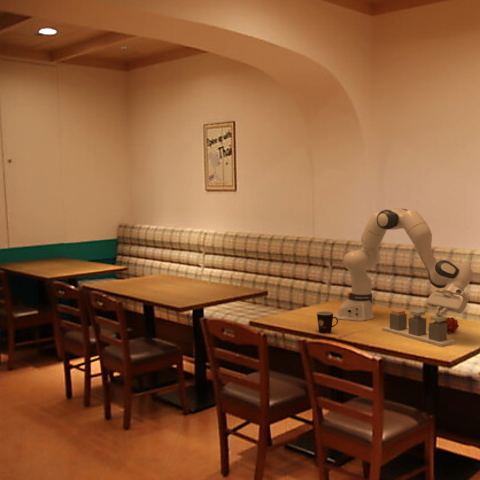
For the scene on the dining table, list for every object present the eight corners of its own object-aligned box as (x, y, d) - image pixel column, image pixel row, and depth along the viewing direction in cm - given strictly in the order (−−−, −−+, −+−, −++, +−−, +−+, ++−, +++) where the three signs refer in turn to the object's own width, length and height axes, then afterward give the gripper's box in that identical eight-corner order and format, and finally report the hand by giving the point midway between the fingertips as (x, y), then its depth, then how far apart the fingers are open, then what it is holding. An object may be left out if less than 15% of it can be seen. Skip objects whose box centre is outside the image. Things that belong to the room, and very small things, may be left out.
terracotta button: (391, 319, 321) (391, 310, 320) (397, 317, 324) (397, 309, 323) (398, 321, 317) (398, 312, 316) (405, 319, 320) (405, 310, 319)
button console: (382, 330, 324) (382, 312, 322) (395, 327, 329) (395, 310, 328) (441, 347, 292) (441, 327, 291) (455, 343, 297) (455, 324, 296)
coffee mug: (313, 330, 326) (313, 312, 324) (328, 329, 329) (328, 310, 328) (324, 336, 315) (324, 316, 314) (339, 334, 318) (339, 315, 317)
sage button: (430, 325, 300) (430, 316, 299) (437, 324, 302) (437, 315, 302) (438, 327, 295) (439, 318, 295) (445, 326, 298) (445, 317, 298)
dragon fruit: (440, 337, 315) (454, 336, 322) (452, 329, 310) (467, 329, 317) (433, 321, 319) (447, 321, 326) (445, 314, 313) (460, 314, 321)
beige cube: (410, 320, 310) (410, 311, 310) (416, 318, 313) (417, 309, 312) (417, 321, 306) (418, 312, 305) (424, 320, 309) (424, 311, 308)
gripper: (431, 286, 310) (418, 307, 306) (466, 292, 293) (452, 315, 288) (437, 293, 313) (424, 315, 308) (472, 300, 296) (458, 323, 291)
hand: (438, 315), depth 298 cm, fingers closed, pressing on sage button
